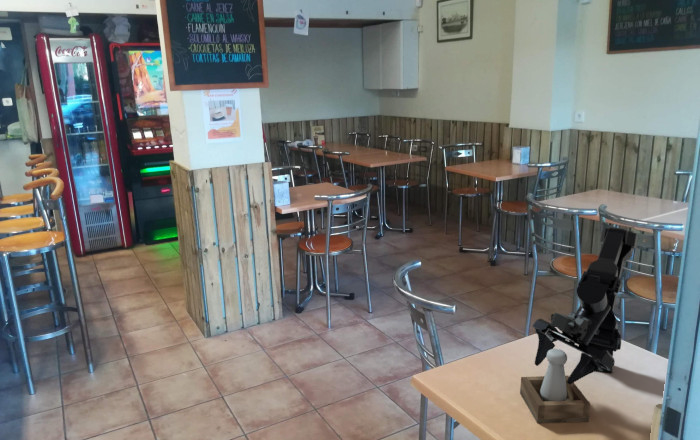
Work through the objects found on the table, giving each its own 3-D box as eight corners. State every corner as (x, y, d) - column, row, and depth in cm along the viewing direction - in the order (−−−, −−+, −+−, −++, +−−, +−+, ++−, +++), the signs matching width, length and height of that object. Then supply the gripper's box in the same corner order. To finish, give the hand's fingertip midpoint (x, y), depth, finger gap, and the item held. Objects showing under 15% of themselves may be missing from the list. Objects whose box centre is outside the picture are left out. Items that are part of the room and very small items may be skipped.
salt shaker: (568, 411, 117) (573, 359, 114) (541, 408, 118) (546, 357, 115) (563, 396, 123) (568, 346, 119) (537, 393, 124) (541, 344, 120)
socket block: (566, 391, 126) (568, 375, 125) (588, 421, 115) (590, 403, 114) (520, 393, 126) (521, 377, 125) (537, 423, 115) (538, 405, 114)
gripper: (540, 286, 123) (503, 340, 121) (612, 315, 108) (571, 378, 105) (560, 309, 129) (525, 361, 127) (631, 340, 113) (593, 400, 111)
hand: (551, 373), depth 117 cm, fingers open, 9 cm apart
